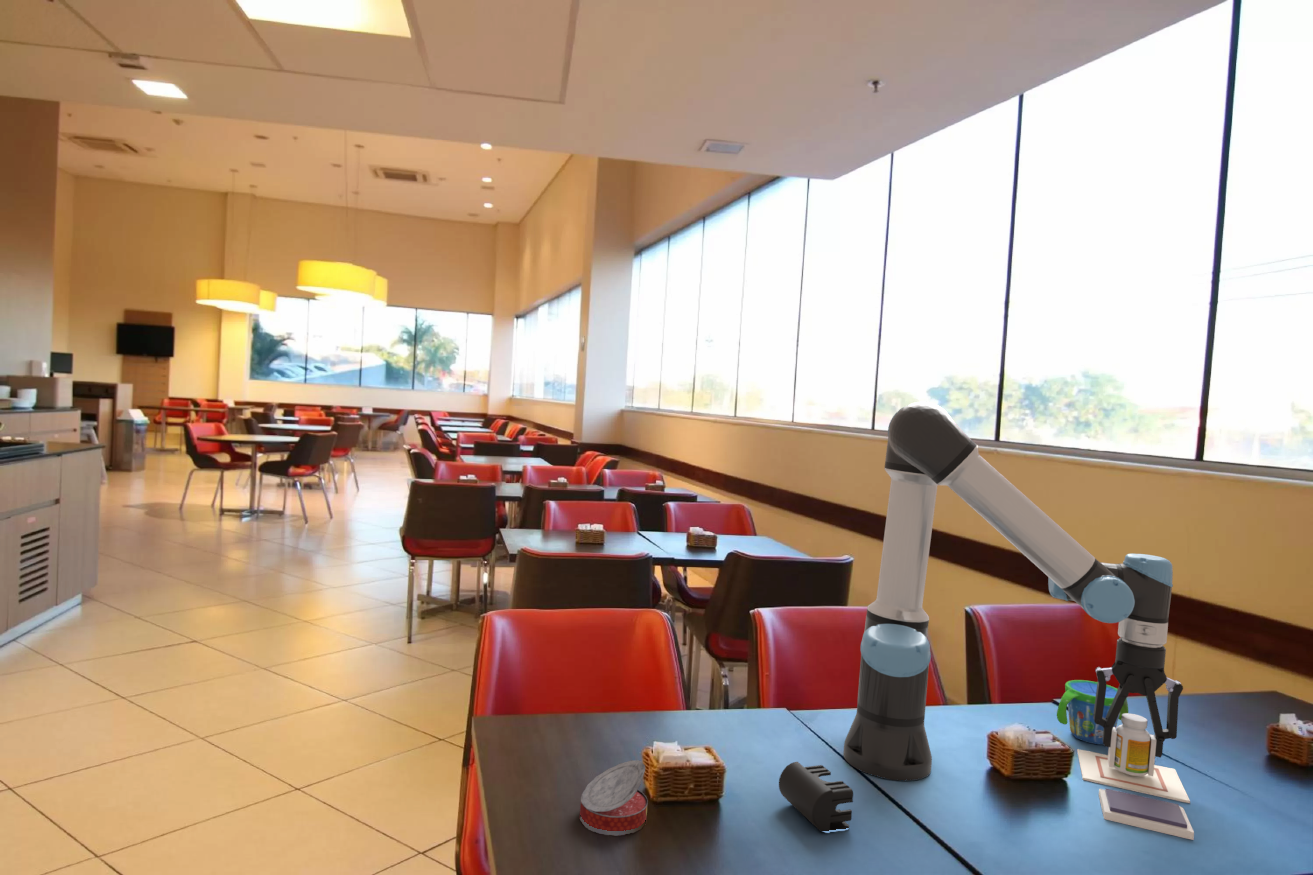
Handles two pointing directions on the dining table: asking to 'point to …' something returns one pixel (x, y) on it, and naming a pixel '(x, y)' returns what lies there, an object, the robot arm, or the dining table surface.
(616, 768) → the canned food
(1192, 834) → the ink pad
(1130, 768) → the supplement bottle
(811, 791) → the end cap
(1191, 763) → the dining table surface
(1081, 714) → the snack cup
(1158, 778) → the cream flat board
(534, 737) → the dining table surface
